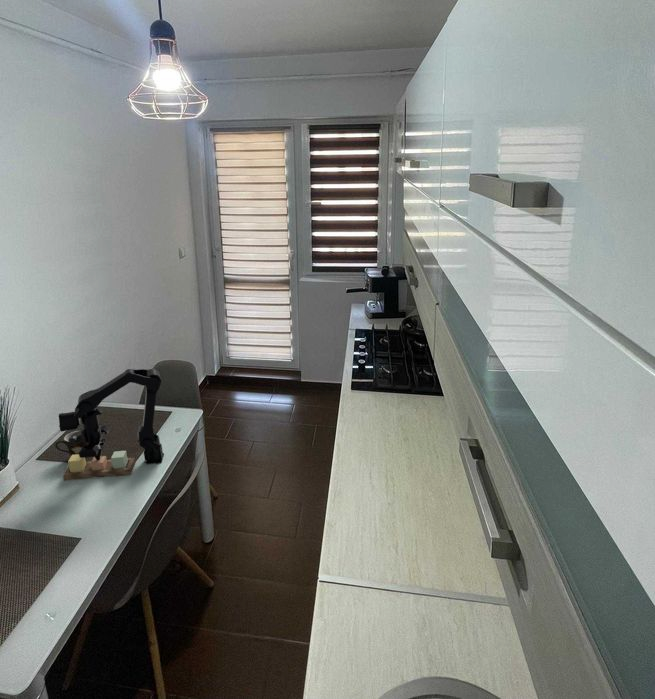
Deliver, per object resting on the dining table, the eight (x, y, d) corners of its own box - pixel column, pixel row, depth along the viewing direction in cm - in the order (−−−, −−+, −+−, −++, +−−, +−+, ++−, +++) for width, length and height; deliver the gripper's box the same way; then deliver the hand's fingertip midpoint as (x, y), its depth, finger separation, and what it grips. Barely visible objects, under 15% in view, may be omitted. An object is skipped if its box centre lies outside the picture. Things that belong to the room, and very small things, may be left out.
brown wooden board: (135, 462, 202) (134, 457, 201) (130, 474, 194) (129, 469, 193) (71, 467, 199) (70, 462, 198) (63, 480, 191) (62, 475, 190)
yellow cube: (86, 464, 197) (84, 453, 195) (82, 471, 193) (80, 460, 191) (74, 465, 196) (72, 454, 195) (70, 472, 192) (67, 461, 190)
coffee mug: (95, 451, 210) (91, 431, 206) (84, 463, 202) (79, 442, 198) (69, 450, 211) (65, 429, 207) (57, 461, 203) (52, 440, 199)
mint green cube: (128, 461, 199) (126, 450, 197) (125, 467, 195) (123, 457, 193) (116, 462, 198) (114, 451, 196) (113, 468, 194) (111, 458, 192)
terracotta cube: (108, 466, 199) (106, 455, 197) (104, 473, 194) (102, 462, 192) (96, 467, 198) (94, 456, 196) (92, 474, 194) (90, 463, 192)
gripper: (77, 415, 196) (84, 448, 202) (60, 439, 179) (68, 475, 185) (106, 412, 198) (112, 446, 203) (92, 437, 180) (99, 472, 186)
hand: (98, 459), depth 194 cm, fingers closed, pressing on terracotta cube
